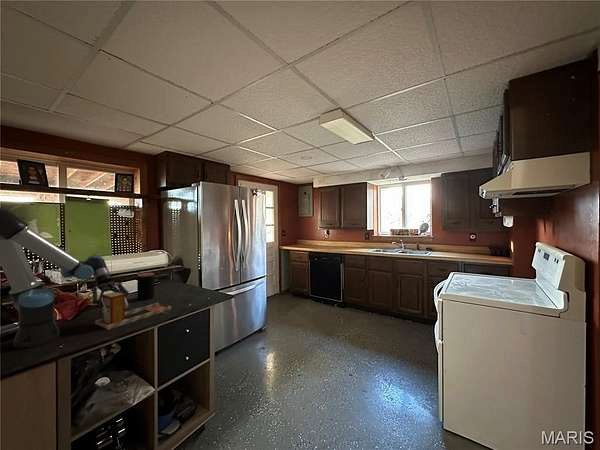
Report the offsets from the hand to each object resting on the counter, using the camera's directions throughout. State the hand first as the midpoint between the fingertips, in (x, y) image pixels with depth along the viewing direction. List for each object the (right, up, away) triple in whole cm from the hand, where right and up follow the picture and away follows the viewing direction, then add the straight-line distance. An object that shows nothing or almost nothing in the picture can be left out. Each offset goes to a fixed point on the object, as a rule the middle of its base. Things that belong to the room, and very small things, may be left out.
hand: (116, 309), depth 135 cm
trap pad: (+9, -8, +23) cm, 26 cm away
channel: (+3, -8, +12) cm, 15 cm away
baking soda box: (-3, -8, +2) cm, 9 cm away
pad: (-3, -8, +2) cm, 9 cm away
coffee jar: (-13, -8, +46) cm, 49 cm away
